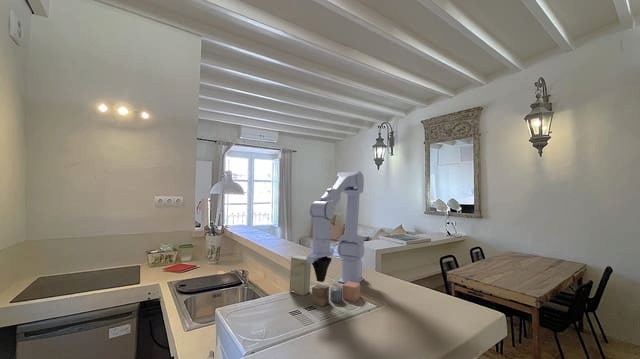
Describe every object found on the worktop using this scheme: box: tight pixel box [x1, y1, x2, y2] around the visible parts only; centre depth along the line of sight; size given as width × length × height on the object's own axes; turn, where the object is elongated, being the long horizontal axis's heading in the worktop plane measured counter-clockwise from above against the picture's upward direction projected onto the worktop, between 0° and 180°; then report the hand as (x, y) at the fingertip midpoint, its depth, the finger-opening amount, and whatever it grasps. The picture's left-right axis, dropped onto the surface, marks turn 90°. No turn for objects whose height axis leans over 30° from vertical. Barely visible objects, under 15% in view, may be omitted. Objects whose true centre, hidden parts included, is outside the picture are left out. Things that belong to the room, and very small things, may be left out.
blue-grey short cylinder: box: [329, 286, 343, 304], centre depth 82 cm, size 4×4×4 cm
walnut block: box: [311, 283, 330, 307], centre depth 80 cm, size 4×4×5 cm
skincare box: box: [288, 254, 312, 296], centre depth 89 cm, size 6×4×12 cm
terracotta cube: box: [342, 281, 361, 302], centre depth 84 cm, size 4×4×4 cm
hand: (320, 281), depth 80 cm, fingers closed
